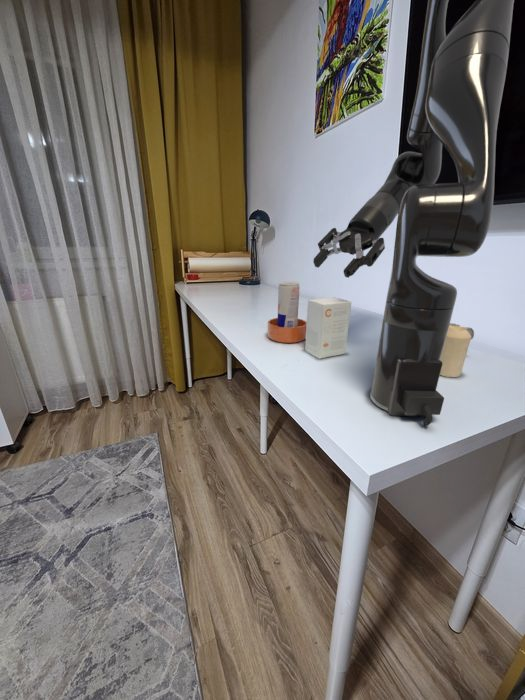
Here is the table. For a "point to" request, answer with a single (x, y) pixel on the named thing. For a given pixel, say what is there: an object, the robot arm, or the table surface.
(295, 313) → the beverage can
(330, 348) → the small box
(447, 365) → the candle
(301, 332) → the bowl
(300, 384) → the table surface
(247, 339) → the table surface
